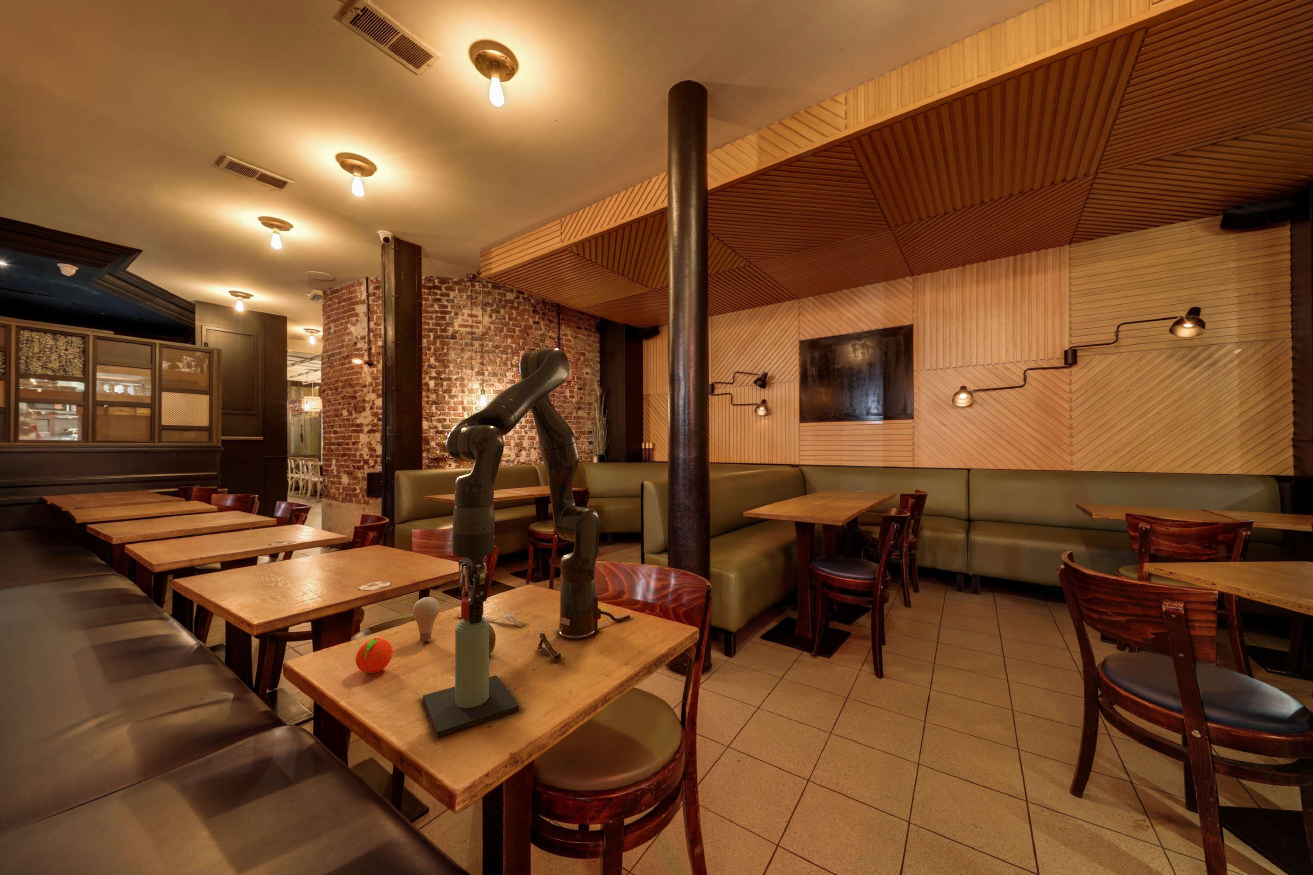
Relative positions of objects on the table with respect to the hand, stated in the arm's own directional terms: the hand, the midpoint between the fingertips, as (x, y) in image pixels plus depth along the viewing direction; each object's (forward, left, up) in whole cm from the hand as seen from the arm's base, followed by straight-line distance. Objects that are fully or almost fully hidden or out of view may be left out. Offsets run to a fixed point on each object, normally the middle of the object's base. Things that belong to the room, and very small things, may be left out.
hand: (472, 618), depth 87 cm
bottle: (0, 0, -15) cm, 15 cm away
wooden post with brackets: (-20, -11, -16) cm, 28 cm away
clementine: (+14, -25, -16) cm, 33 cm away
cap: (0, 0, +1) cm, 1 cm away
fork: (-15, -41, -16) cm, 47 cm away
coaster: (0, 0, -16) cm, 16 cm away
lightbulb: (+2, -36, -16) cm, 40 cm away
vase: (-7, -20, -16) cm, 27 cm away
